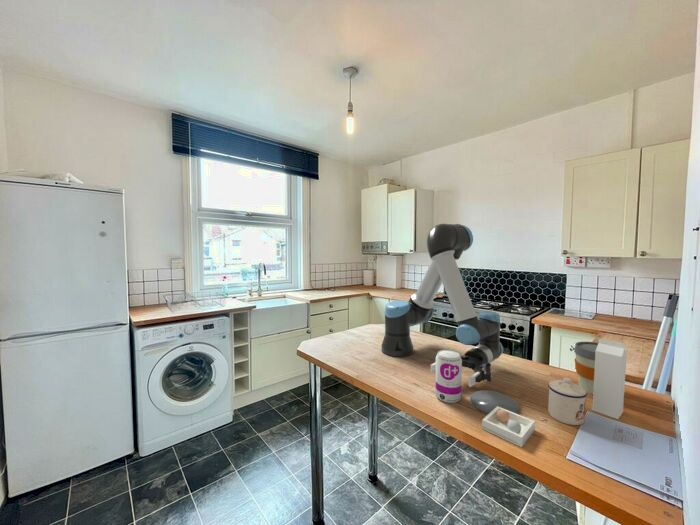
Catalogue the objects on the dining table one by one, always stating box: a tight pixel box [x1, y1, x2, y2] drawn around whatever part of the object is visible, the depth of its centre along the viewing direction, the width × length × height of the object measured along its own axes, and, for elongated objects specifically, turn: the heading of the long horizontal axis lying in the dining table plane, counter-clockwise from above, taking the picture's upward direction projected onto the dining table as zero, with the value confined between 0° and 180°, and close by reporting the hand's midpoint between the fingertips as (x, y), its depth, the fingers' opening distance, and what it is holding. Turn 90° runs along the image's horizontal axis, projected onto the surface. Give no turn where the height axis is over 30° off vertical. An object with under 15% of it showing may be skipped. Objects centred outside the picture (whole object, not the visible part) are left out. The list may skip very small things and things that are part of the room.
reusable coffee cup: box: [573, 341, 599, 395], centre depth 101 cm, size 12×13×15 cm
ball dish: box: [481, 406, 536, 448], centre depth 81 cm, size 10×10×3 cm
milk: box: [592, 338, 628, 420], centre depth 88 cm, size 6×6×22 cm
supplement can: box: [434, 349, 463, 404], centre depth 98 cm, size 8×8×15 cm
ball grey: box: [508, 420, 521, 434], centre depth 78 cm, size 3×3×3 cm
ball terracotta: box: [497, 410, 509, 422], centre depth 83 cm, size 3×3×3 cm
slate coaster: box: [469, 389, 520, 415], centre depth 94 cm, size 14×14×1 cm
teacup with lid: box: [547, 377, 588, 426], centre depth 87 cm, size 12×9×12 cm
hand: (449, 375), depth 97 cm, fingers open, 13 cm apart
